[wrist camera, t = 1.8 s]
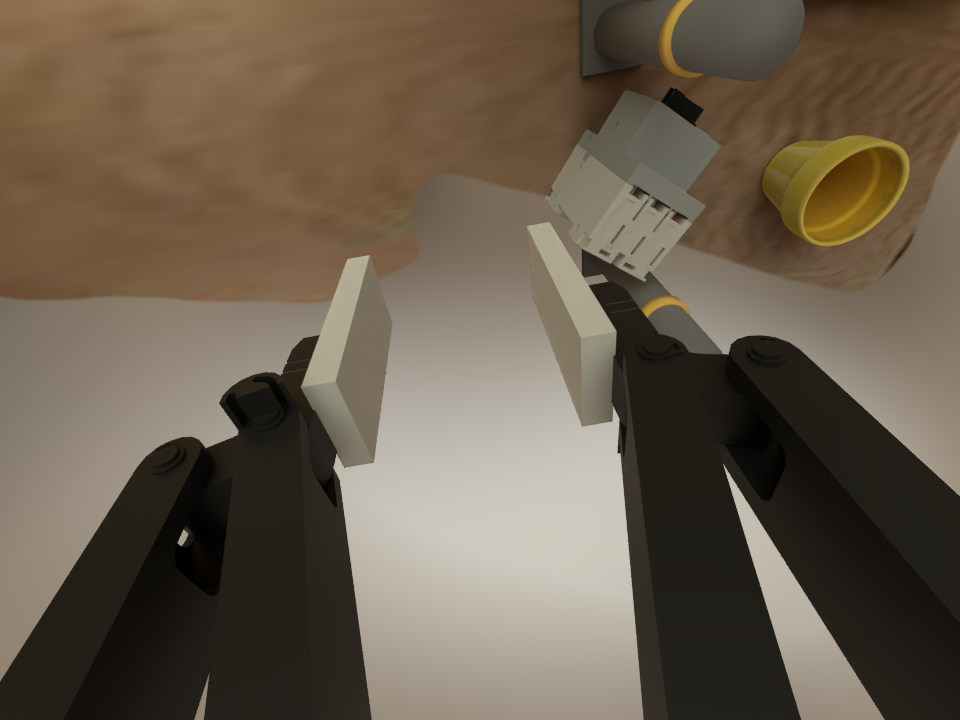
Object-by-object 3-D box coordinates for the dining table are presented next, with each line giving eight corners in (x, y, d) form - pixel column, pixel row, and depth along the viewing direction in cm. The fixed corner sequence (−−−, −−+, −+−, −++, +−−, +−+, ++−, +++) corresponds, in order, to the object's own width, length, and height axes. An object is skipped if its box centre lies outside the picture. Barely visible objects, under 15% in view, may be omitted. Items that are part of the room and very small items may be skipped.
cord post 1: (579, -2, 40) (716, -31, 21) (645, -15, 40) (843, -56, 21) (580, 75, 43) (697, 111, 24) (640, 64, 43) (804, 91, 24)
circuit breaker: (677, 107, 46) (763, 135, 34) (595, 226, 53) (642, 284, 41) (623, 67, 43) (695, 82, 31) (544, 198, 50) (579, 250, 39)
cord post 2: (581, 229, 53) (665, 341, 34) (630, 220, 53) (742, 328, 34) (581, 273, 57) (658, 397, 38) (627, 265, 57) (727, 385, 38)
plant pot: (807, 217, 55) (869, 249, 47) (731, 215, 54) (781, 246, 46) (855, 125, 49) (935, 143, 41) (769, 120, 48) (835, 138, 40)
